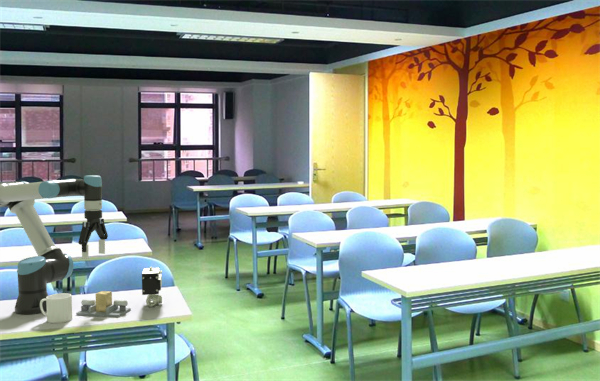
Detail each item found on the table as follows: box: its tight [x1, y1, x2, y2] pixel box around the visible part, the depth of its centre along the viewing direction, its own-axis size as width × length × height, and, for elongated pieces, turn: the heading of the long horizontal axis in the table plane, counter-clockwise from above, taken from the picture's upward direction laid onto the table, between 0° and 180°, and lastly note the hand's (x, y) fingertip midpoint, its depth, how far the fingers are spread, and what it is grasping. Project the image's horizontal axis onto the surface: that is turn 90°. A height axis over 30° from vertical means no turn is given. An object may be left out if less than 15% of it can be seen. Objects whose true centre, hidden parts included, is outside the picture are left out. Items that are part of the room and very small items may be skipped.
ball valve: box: [141, 266, 163, 307], centre depth 273 cm, size 18×8×18 cm, turn 11°
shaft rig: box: [75, 299, 131, 318], centre depth 261 cm, size 20×11×5 cm, turn 79°
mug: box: [40, 292, 73, 324], centre depth 250 cm, size 13×10×10 cm
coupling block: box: [95, 290, 113, 312], centre depth 261 cm, size 5×5×8 cm
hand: (93, 256), depth 267 cm, fingers open, 13 cm apart
